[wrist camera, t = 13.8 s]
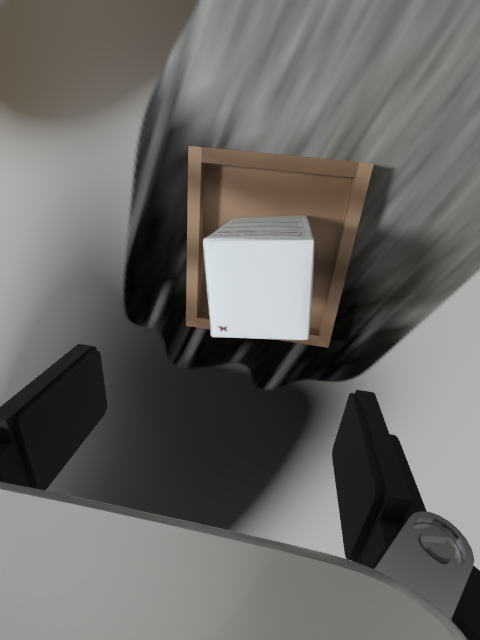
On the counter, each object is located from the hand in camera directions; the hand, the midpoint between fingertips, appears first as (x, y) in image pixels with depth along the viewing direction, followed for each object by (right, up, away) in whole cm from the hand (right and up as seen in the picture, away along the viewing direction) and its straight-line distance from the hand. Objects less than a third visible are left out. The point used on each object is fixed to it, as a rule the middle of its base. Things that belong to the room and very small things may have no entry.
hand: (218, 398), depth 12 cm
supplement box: (+4, +10, +21) cm, 24 cm away
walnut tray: (+4, +10, +22) cm, 24 cm away
